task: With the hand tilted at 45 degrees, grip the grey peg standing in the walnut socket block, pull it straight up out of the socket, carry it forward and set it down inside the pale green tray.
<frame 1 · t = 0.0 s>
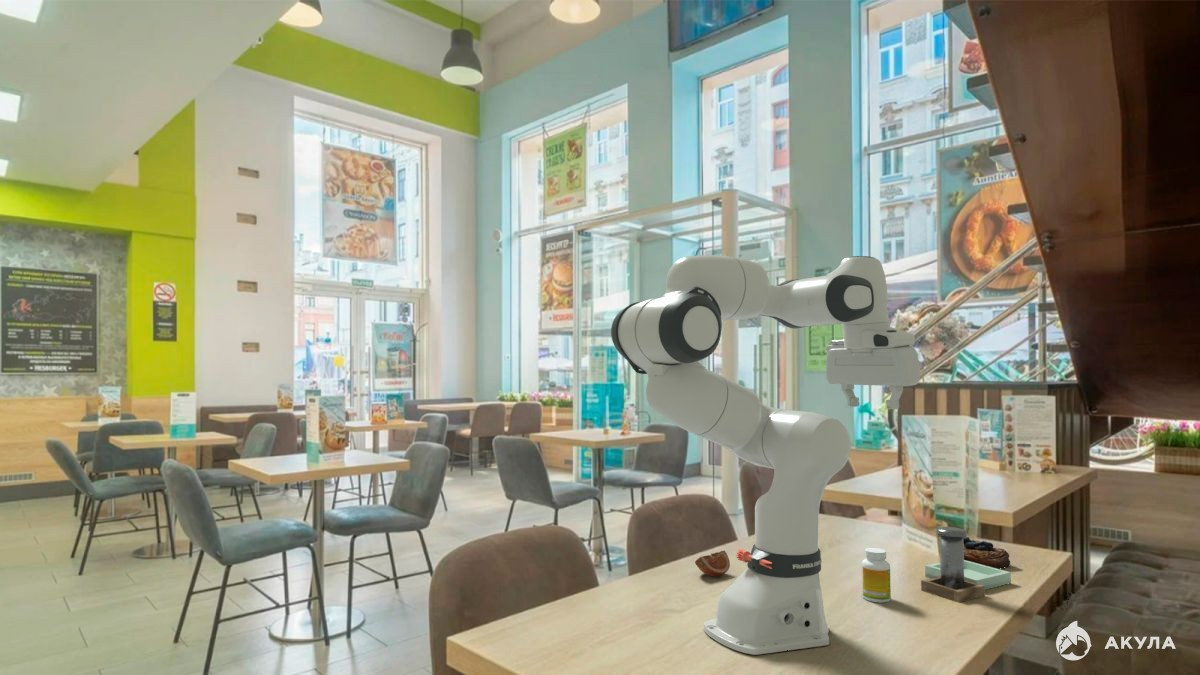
hand: (872, 407, 135), 39 cm above the table, tool pointing down, fingers open, 8 cm apart
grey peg: (952, 561, 142), in the socket block
pastry: (978, 564, 164), on the table
tray: (967, 579, 151), on the table
fruit slice: (711, 576, 153), on the table
supplement bottle: (876, 599, 138), on the table
socket block: (952, 592, 142), on the table
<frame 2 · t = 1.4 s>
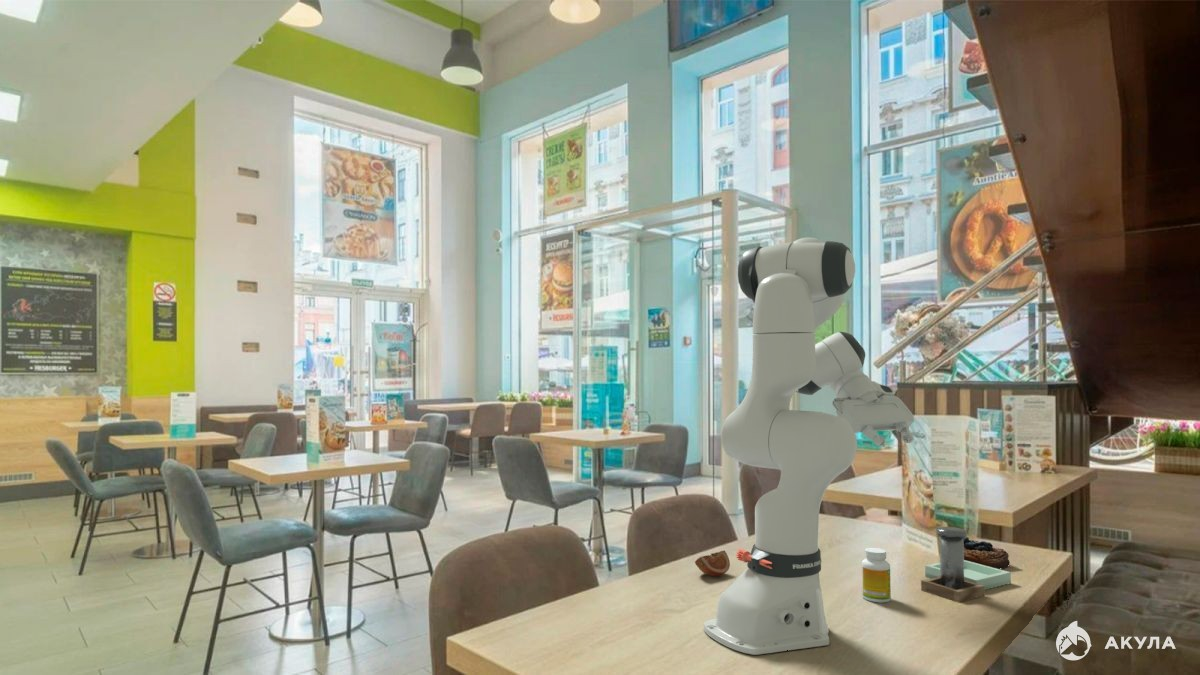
hand: (896, 442, 155), 30 cm above the table, tool tilted 45°, fingers open, 8 cm apart
nothing on the table moved.
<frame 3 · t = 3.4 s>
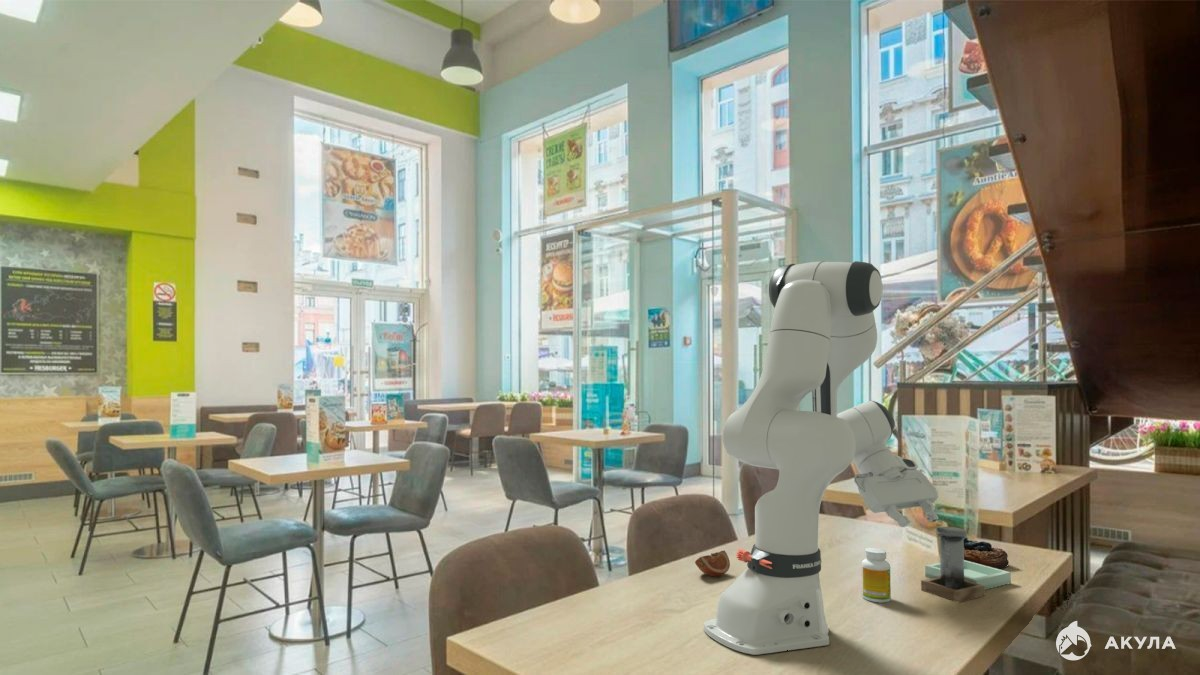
hand: (920, 523, 149), 13 cm above the table, tool tilted 45°, fingers open, 8 cm apart
nothing on the table moved.
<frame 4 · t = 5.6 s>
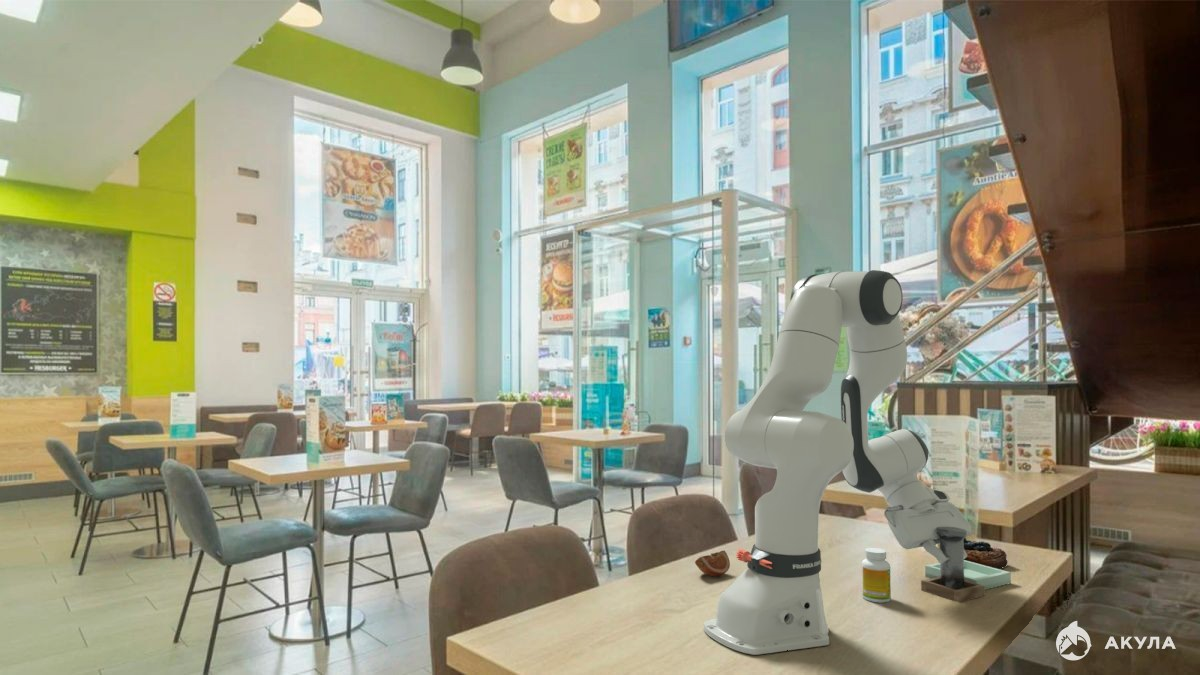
hand: (954, 560, 142), 7 cm above the table, tool tilted 45°, fingers closed on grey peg, 4 cm apart
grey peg: (952, 561, 142), in the socket block, touching gripper
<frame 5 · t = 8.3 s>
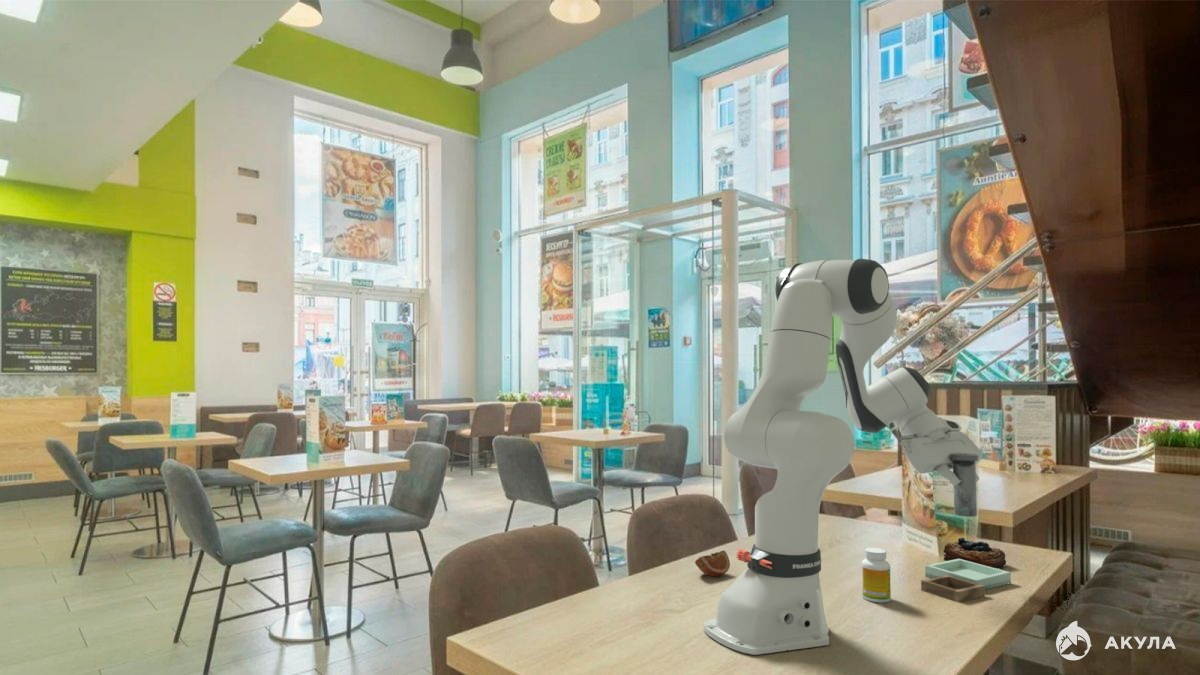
hand: (967, 482, 150), 22 cm above the table, tool tilted 45°, fingers closed on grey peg, 4 cm apart
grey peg: (964, 484, 150), point 21 cm above the table, touching gripper
when the fingers open (8 cm above the table, at t = 11.2 s): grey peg stays where it is, resting on tray.
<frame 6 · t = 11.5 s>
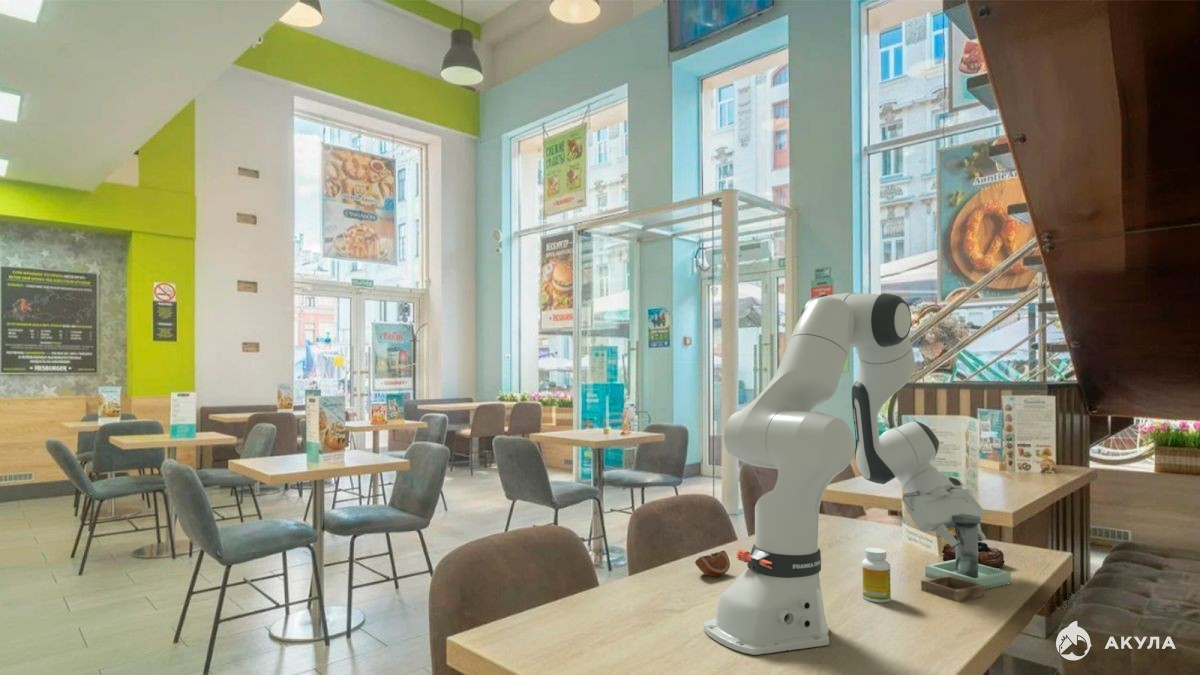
hand: (969, 542, 150), 8 cm above the table, tool tilted 45°, fingers open, 8 cm apart
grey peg: (966, 546, 151), in the tray, point 7 cm above the table
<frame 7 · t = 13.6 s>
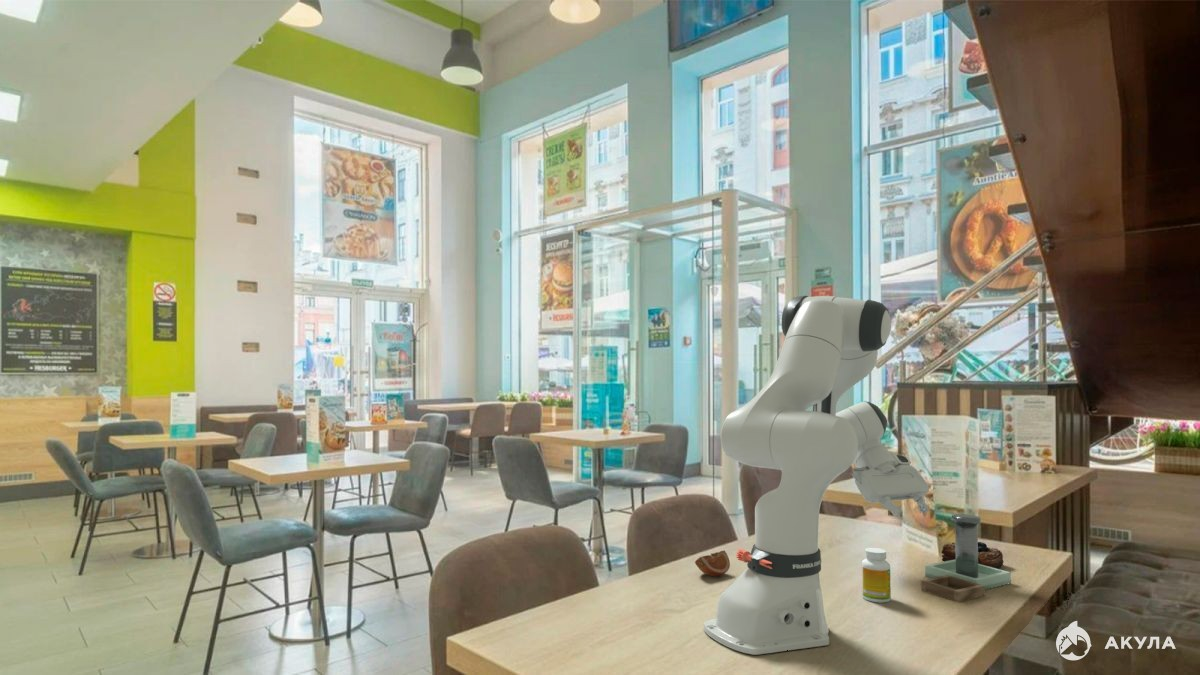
hand: (912, 513, 162), 12 cm above the table, tool tilted 45°, fingers open, 8 cm apart
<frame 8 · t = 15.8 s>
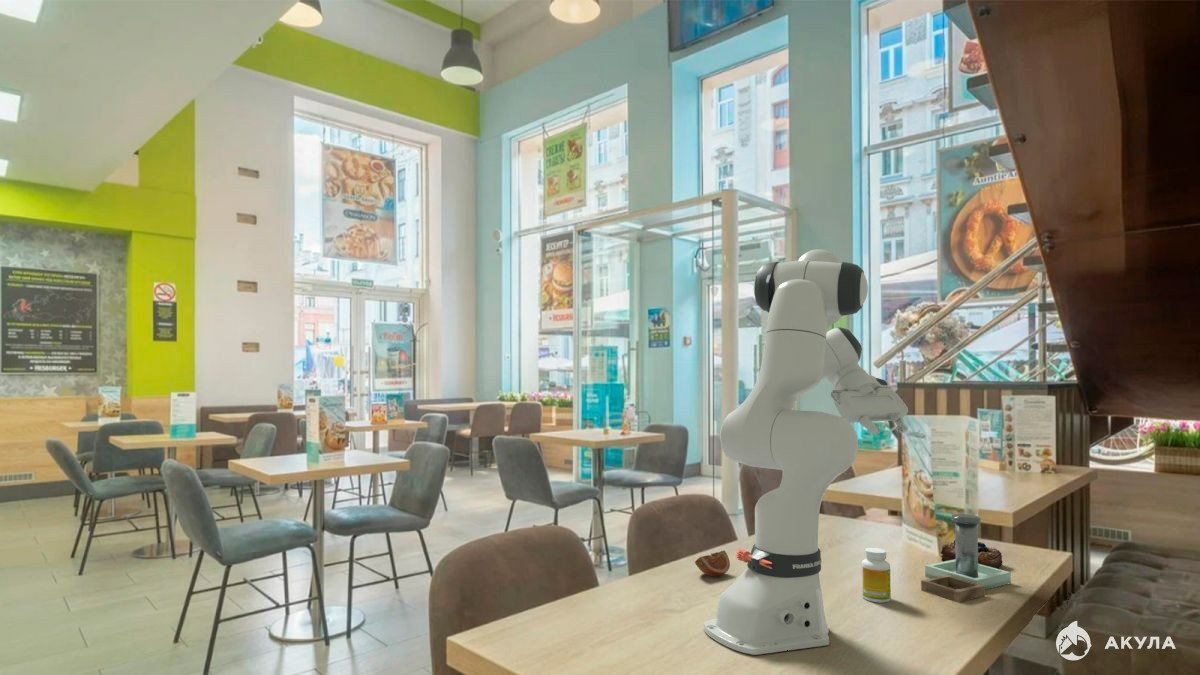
hand: (891, 432, 163), 31 cm above the table, tool tilted 45°, fingers open, 8 cm apart
at the end: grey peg inside the target area on the tray (0.1 cm from its centre), point 7.3 cm above the tray's base; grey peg tilted 0°; the gripper is holding nothing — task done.
